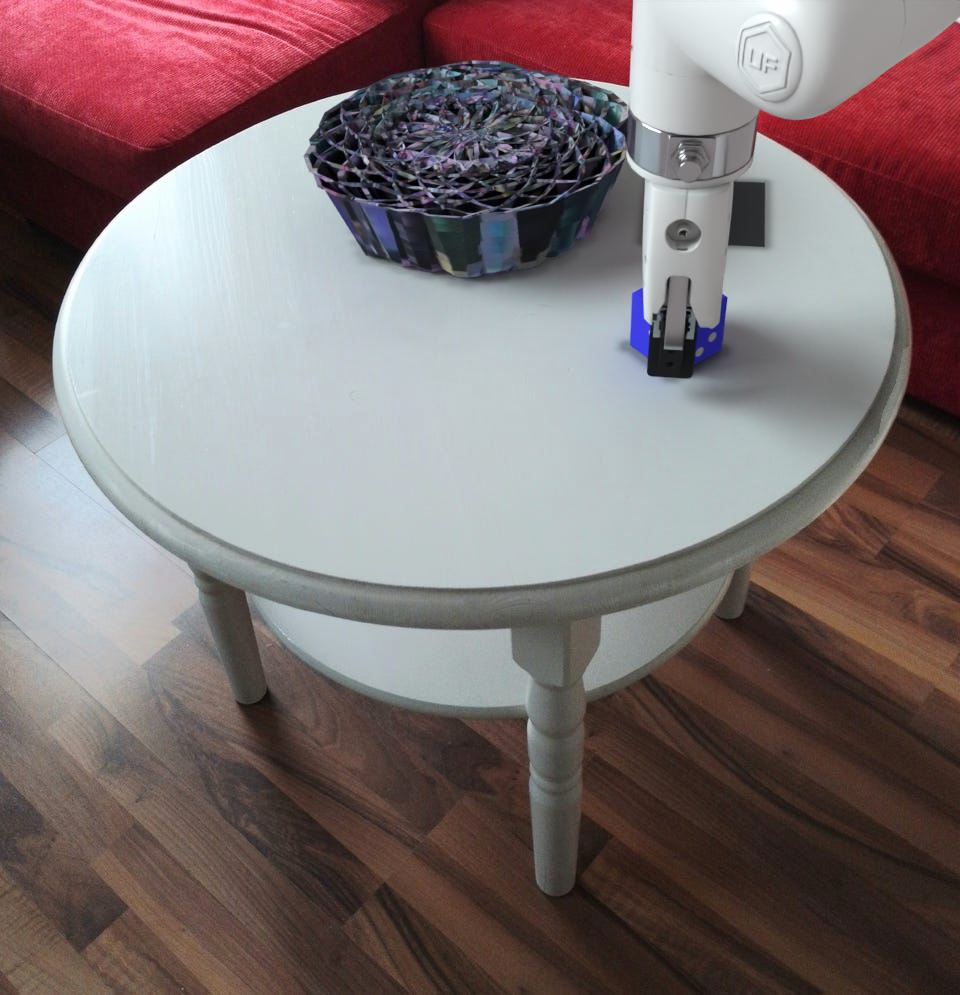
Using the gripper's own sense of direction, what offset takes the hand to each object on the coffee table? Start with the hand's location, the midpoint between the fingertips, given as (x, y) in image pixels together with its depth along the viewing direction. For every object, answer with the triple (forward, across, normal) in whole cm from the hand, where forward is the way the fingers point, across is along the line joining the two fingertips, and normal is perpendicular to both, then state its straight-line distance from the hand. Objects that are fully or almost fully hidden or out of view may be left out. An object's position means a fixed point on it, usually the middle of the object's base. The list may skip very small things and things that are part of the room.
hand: (669, 369), depth 78 cm
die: (+3, +5, 0) cm, 6 cm away
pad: (+3, +24, -2) cm, 25 cm away
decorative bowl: (+3, +23, +18) cm, 29 cm away
